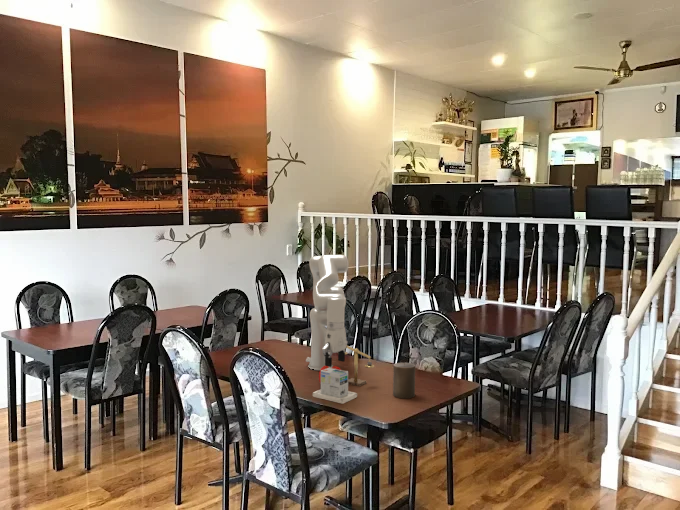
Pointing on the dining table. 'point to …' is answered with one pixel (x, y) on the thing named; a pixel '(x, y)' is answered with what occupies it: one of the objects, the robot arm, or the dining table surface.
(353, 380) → the balance
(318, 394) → the platter
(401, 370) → the pillar candle
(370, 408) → the dining table surface
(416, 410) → the dining table surface
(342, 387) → the light bulb box
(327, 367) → the tomato
